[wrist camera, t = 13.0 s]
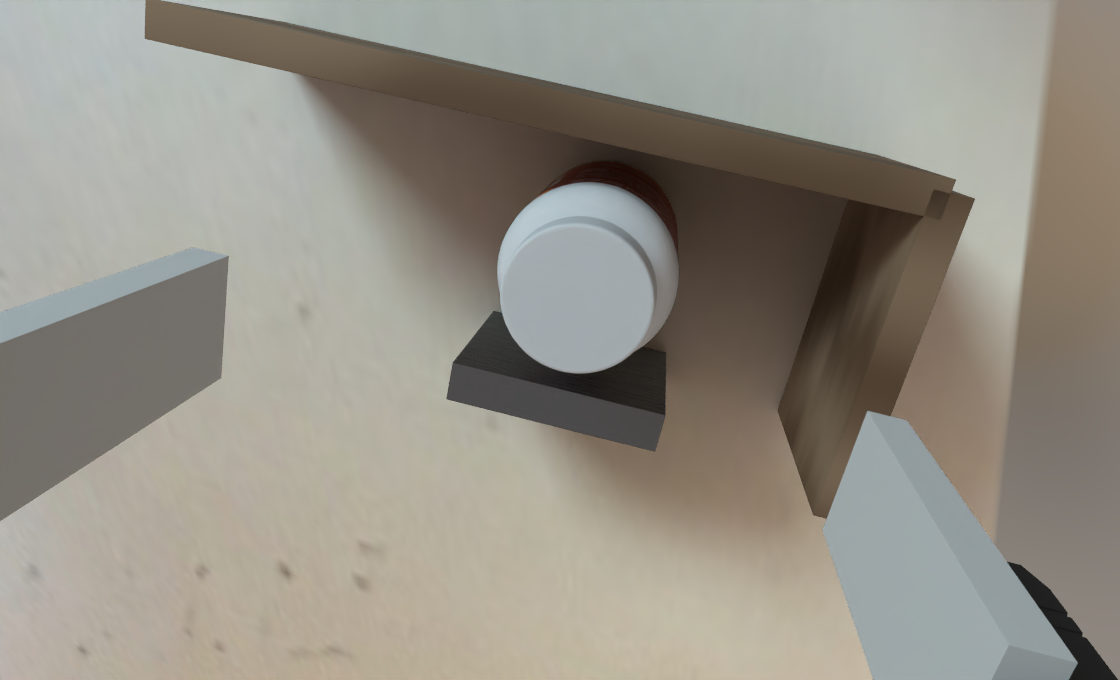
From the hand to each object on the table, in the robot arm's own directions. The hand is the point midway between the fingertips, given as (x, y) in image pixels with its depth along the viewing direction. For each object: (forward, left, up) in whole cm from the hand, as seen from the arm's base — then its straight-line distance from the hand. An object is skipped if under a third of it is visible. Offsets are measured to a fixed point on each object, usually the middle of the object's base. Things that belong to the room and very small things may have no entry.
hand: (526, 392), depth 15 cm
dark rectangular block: (+5, 0, -19) cm, 19 cm away
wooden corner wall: (0, -2, -19) cm, 19 cm away
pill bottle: (0, 0, -19) cm, 19 cm away
